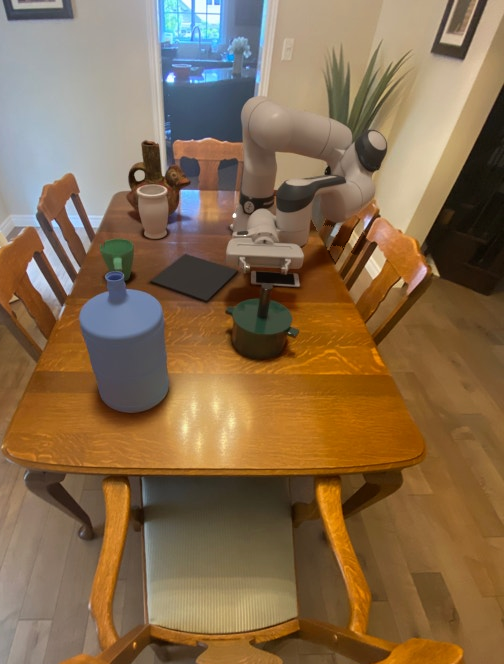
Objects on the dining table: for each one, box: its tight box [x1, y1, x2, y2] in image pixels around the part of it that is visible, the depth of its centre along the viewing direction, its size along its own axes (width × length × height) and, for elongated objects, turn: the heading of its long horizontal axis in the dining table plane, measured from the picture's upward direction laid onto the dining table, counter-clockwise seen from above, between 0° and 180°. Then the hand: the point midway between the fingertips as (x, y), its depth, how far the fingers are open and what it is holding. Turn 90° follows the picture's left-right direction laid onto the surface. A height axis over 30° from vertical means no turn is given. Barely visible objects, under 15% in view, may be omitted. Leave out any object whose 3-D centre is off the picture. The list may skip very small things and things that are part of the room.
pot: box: [224, 305, 301, 360], centre depth 92 cm, size 14×19×8 cm
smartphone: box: [250, 270, 301, 288], centre depth 114 cm, size 8×1×15 cm
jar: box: [137, 185, 169, 240], centre depth 128 cm, size 11×10×15 cm
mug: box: [99, 238, 135, 282], centre depth 109 cm, size 15×10×10 cm
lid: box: [231, 283, 293, 336], centre depth 86 cm, size 15×15×9 cm
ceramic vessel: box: [125, 139, 192, 218], centre depth 134 cm, size 17×26×25 cm, turn 77°
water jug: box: [78, 271, 170, 414], centre depth 72 cm, size 16×16×28 cm
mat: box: [150, 253, 239, 303], centre depth 114 cm, size 20×20×1 cm
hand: (265, 271), depth 91 cm, fingers open, 8 cm apart
